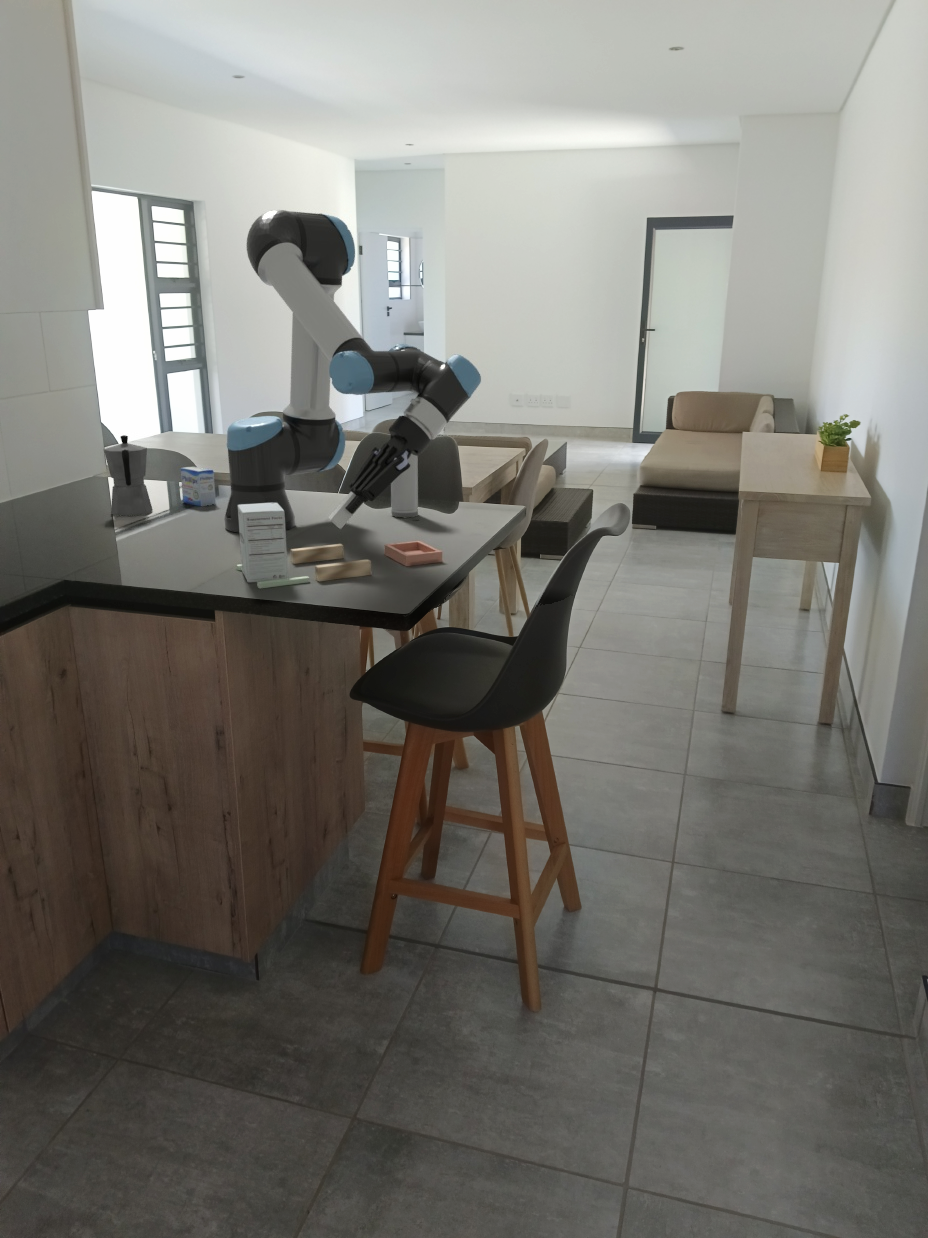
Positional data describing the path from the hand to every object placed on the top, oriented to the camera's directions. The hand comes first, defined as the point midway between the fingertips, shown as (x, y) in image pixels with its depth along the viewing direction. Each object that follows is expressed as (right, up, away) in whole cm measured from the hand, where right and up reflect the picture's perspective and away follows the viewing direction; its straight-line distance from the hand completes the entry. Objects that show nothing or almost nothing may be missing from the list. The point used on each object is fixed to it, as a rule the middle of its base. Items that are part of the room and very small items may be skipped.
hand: (334, 523), depth 169 cm
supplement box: (-12, -10, -4) cm, 16 cm away
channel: (0, -8, +2) cm, 8 cm away
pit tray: (+14, -6, +10) cm, 18 cm away
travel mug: (+10, +7, +48) cm, 49 cm away
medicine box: (-42, +11, +59) cm, 73 cm away
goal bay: (-11, -10, -3) cm, 15 cm away
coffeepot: (-54, +7, +47) cm, 72 cm away
